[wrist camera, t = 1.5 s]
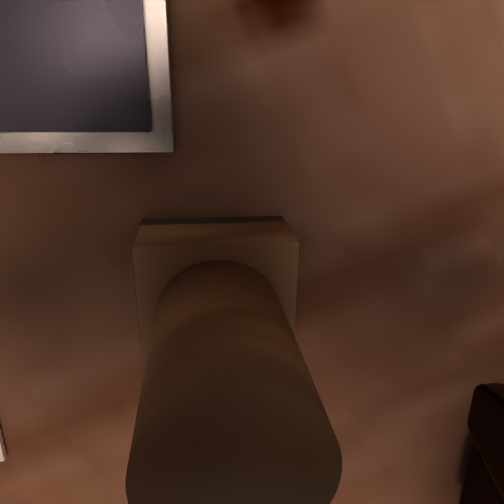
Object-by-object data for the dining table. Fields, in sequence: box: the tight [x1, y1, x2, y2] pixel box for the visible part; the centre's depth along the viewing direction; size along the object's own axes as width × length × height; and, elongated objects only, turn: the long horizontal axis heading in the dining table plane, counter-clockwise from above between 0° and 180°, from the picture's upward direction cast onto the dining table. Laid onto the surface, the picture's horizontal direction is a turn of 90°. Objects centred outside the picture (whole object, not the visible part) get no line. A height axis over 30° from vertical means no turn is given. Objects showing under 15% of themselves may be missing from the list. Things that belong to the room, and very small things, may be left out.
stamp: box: [126, 216, 342, 504], centre depth 10 cm, size 4×4×7 cm
